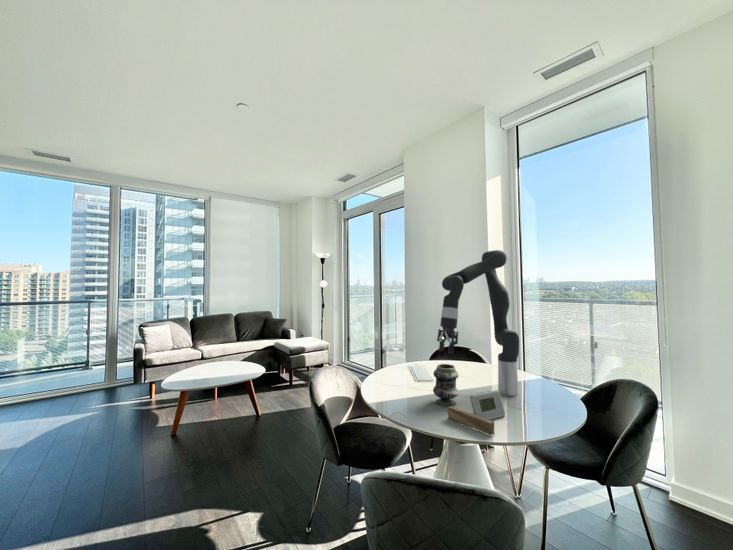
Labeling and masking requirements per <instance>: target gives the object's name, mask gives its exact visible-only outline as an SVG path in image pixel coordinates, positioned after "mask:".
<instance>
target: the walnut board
mask: <svg viewBox="0 0 733 550" xmlns="http://www.w3.org/2000/svg"><path fill="white" fill-rule="evenodd" d="M447 420H449V421H452V422H454V421H455V422H454V423H456V422H458V423H457V424H459V423H460V424H459V425H461V424H463V425H462V426H464V425H465V426H464V427H466V426H468V427H467V428H469V427H471V428H474V429H476V430H479V431H482V432H484V433H487V434H489V435H492V434H494V435H495V421H494V420H488V419H486V418H483V417H480V416H477V415H475V414H473V412H472V413H471V412H469V411H467V410H464V409H461V408H458V407H455V406H450V407H447ZM471 428H470V429H471ZM474 429H473V430H474ZM476 430H475V431H476ZM479 431H478V432H479Z"/></svg>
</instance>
